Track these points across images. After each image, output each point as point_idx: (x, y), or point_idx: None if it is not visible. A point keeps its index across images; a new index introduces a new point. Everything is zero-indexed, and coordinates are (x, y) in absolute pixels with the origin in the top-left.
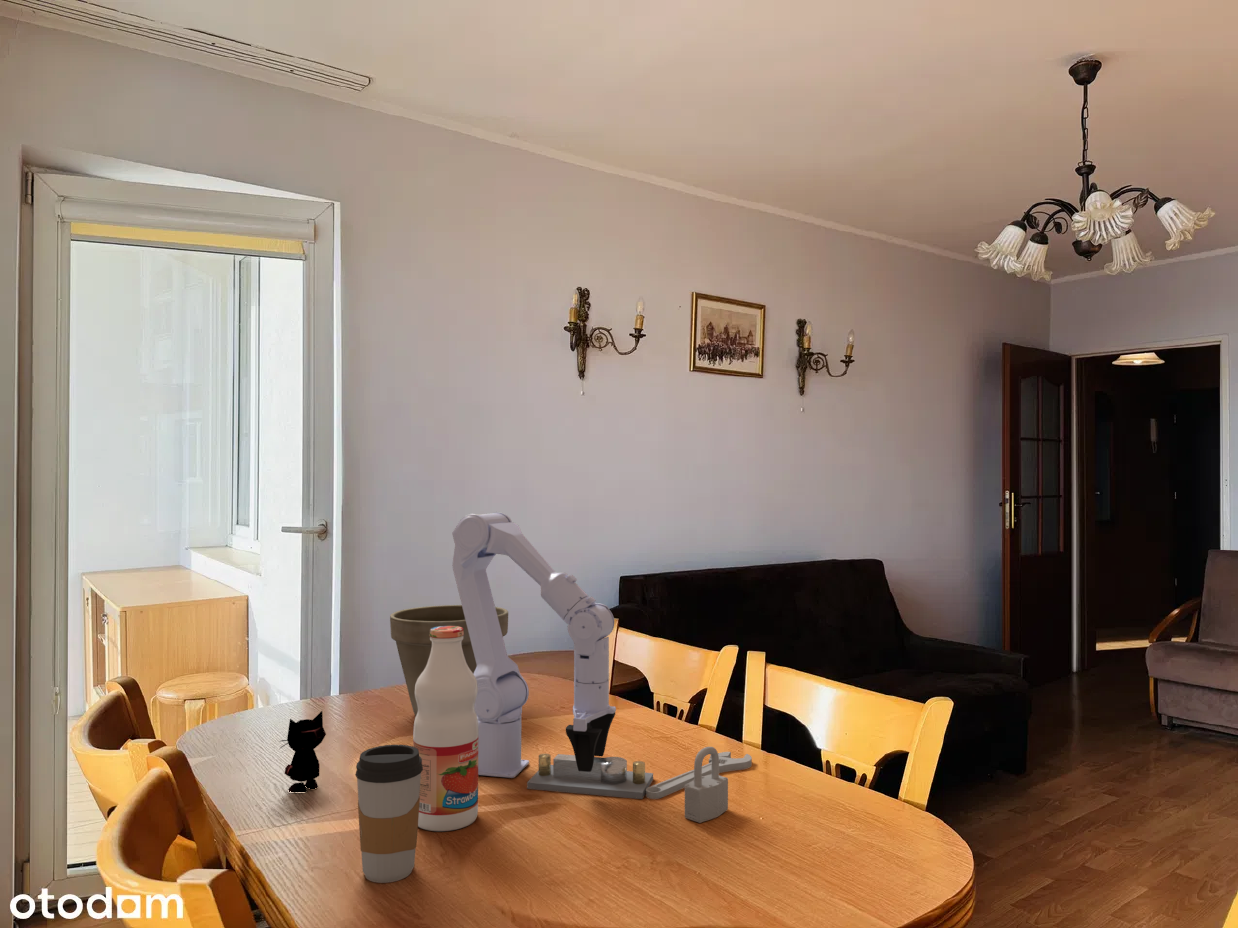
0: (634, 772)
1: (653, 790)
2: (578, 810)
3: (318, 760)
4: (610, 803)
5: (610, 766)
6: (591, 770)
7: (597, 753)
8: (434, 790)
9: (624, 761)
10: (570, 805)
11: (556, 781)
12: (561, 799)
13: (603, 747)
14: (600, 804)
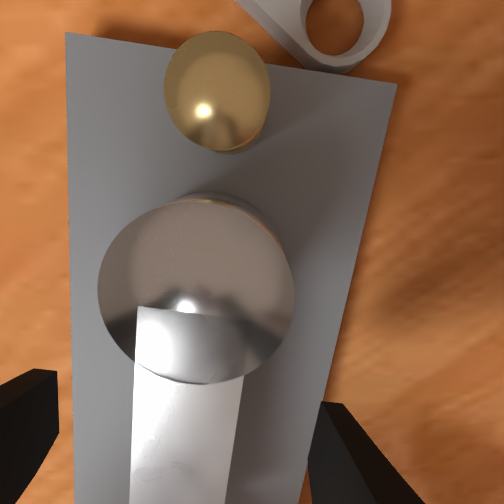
0: (255, 137)
1: (304, 25)
2: (494, 357)
3: None
4: (429, 244)
5: (293, 307)
6: (323, 401)
7: (47, 409)
8: None
9: (192, 219)
10: (441, 389)
11: (264, 479)
12: (380, 425)
13: (11, 408)
14: (438, 284)
